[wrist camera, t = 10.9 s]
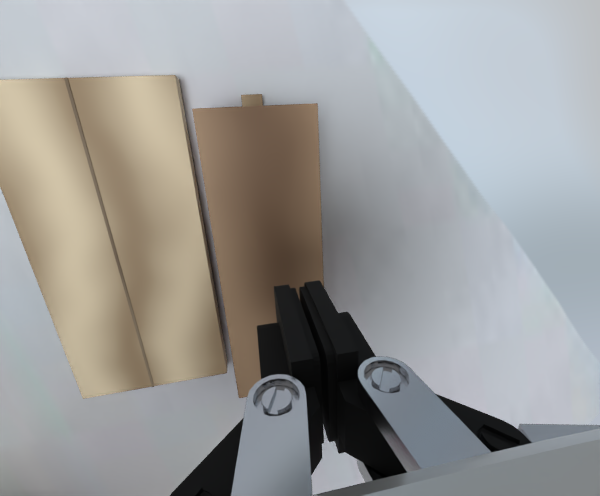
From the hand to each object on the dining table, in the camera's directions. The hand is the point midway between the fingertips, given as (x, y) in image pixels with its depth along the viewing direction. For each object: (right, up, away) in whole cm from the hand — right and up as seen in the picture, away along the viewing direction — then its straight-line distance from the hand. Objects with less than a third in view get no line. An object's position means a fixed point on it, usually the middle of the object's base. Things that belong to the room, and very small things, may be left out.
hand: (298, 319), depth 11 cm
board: (-9, +3, +9) cm, 13 cm away
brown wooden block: (-2, +3, +11) cm, 11 cm away
